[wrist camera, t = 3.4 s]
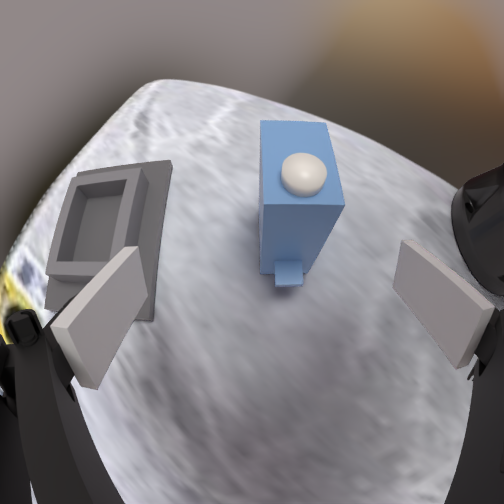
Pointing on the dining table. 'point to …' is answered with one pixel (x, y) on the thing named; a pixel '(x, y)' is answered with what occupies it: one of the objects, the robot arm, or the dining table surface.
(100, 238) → the chassis
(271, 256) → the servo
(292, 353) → the dining table surface
